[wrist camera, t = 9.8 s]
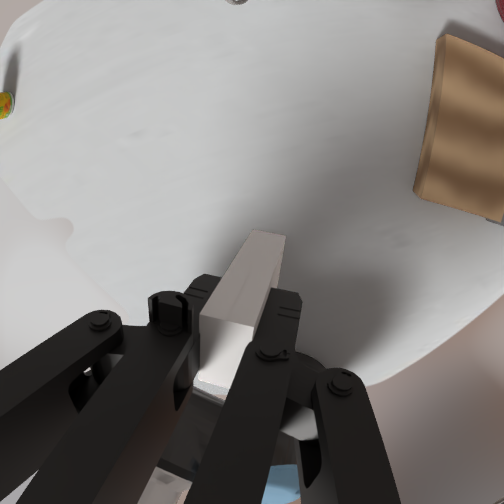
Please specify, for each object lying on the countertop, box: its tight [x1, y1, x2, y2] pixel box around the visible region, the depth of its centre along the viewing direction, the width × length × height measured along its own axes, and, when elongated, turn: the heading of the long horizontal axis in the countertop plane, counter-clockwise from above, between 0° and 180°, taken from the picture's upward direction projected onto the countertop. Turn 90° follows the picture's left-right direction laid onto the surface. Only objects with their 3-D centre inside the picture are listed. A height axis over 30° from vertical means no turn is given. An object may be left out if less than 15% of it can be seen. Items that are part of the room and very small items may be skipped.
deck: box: [413, 34, 504, 222], centre depth 29 cm, size 20×12×4 cm, turn 173°
